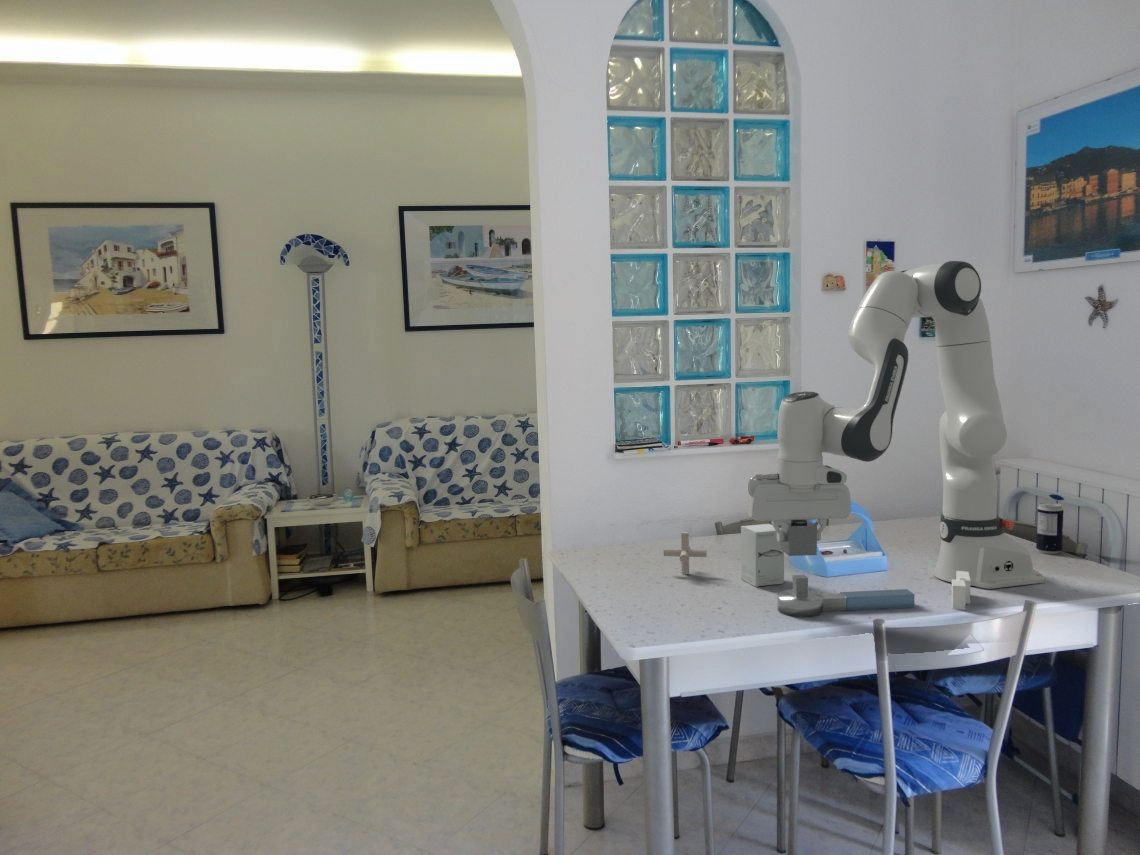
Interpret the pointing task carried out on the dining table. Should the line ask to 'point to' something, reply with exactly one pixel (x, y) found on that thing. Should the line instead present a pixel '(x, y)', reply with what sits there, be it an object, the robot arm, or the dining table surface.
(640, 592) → the dining table surface
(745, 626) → the dining table surface
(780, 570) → the supplement box
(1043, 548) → the beverage can
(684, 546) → the pipe connector
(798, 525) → the dark grey block
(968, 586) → the notched white block
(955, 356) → the robot arm
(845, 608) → the ratchet
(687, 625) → the dining table surface
